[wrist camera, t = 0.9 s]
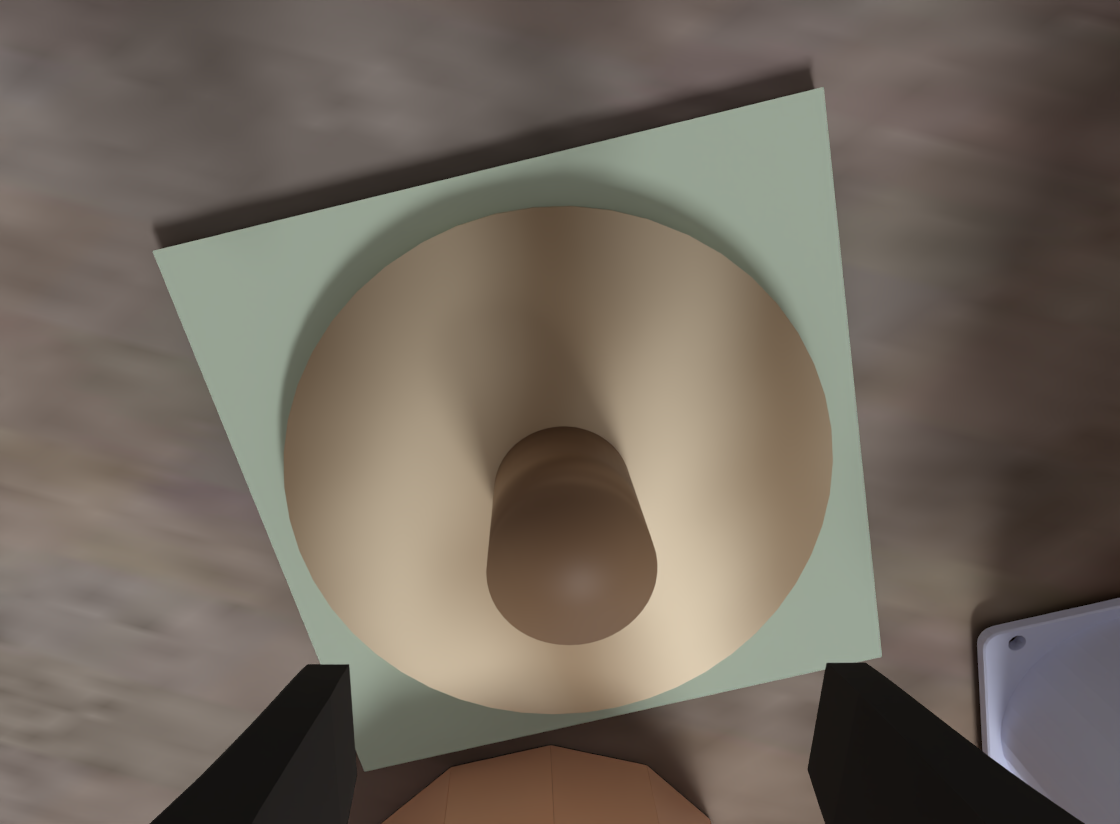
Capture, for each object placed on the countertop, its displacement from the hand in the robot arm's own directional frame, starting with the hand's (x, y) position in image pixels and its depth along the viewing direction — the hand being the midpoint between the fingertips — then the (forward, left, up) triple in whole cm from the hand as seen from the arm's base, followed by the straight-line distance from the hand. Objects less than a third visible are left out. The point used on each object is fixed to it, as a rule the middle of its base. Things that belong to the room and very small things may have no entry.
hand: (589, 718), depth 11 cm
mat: (0, 0, -9) cm, 9 cm away
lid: (0, 0, -9) cm, 9 cm away
